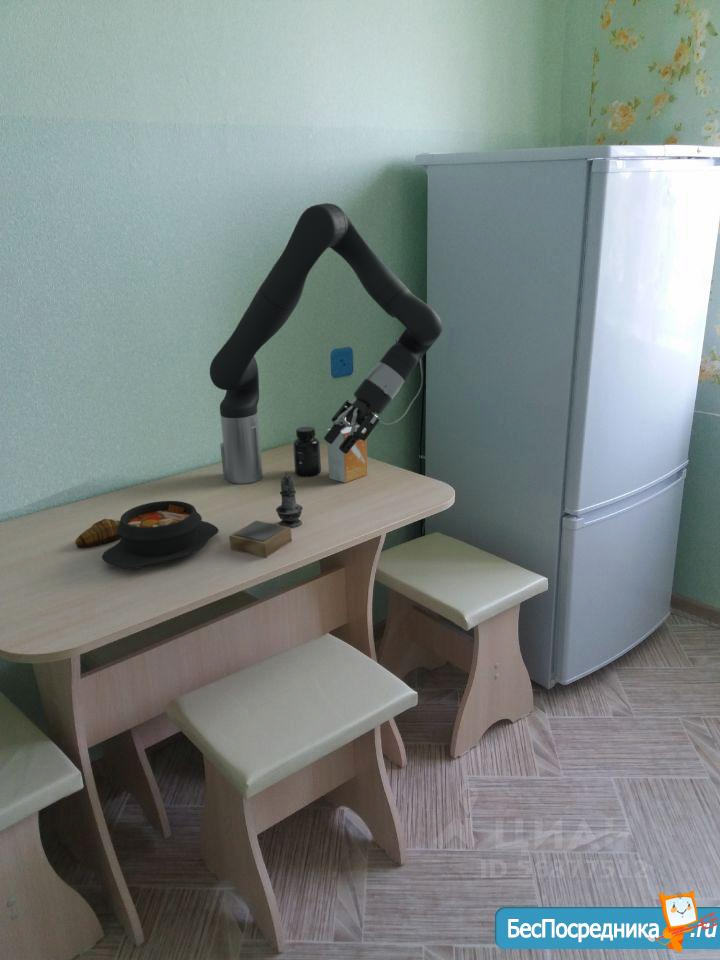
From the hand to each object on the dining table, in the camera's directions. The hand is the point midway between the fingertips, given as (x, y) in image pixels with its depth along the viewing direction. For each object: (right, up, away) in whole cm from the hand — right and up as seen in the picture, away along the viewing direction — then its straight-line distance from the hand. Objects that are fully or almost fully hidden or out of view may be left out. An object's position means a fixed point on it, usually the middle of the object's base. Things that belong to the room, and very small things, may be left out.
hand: (334, 446), depth 172 cm
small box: (+3, -7, +29) cm, 30 cm away
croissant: (-49, -20, -3) cm, 53 cm away
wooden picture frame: (-15, -21, -9) cm, 27 cm away
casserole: (-35, -22, -10) cm, 43 cm away
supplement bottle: (-8, -6, +33) cm, 34 cm away
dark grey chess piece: (-10, -17, +1) cm, 20 cm away
